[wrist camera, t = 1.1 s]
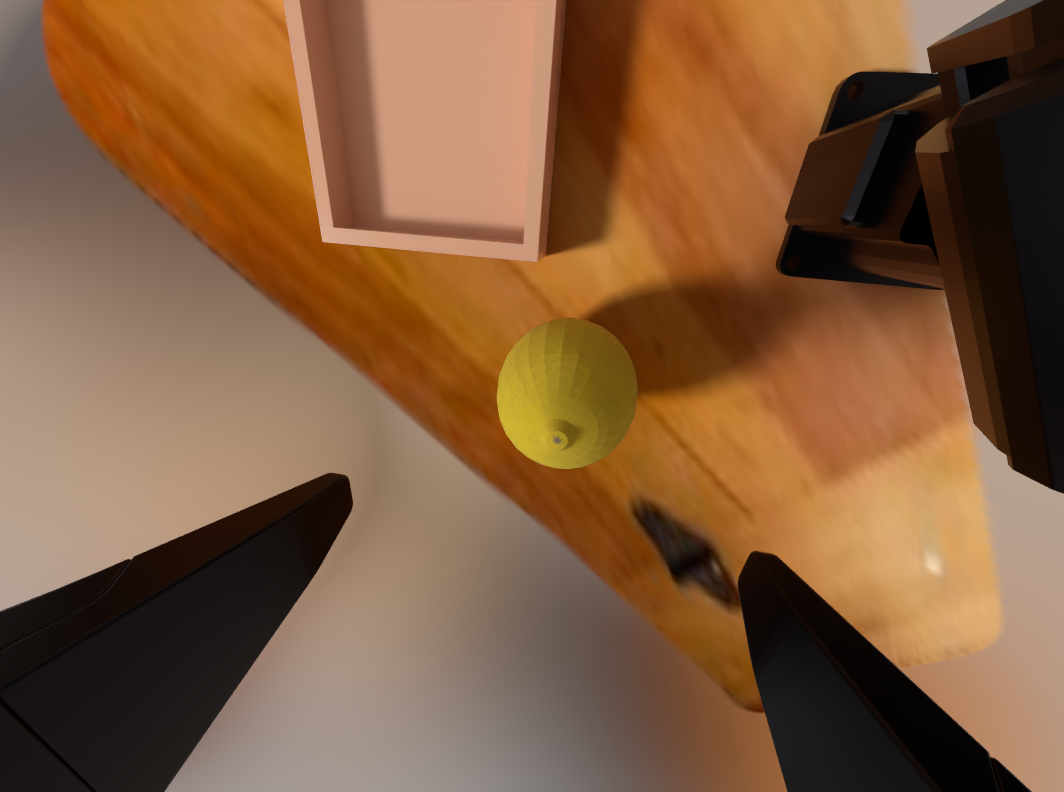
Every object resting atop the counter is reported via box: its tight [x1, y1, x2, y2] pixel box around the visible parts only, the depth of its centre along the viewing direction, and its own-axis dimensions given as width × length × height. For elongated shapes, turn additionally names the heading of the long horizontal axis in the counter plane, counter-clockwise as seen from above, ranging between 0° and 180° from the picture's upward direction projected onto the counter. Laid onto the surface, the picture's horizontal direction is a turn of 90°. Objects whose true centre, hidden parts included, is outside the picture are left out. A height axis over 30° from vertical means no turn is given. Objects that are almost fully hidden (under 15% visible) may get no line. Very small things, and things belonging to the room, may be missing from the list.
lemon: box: [497, 318, 638, 469], centre depth 15 cm, size 6×6×8 cm
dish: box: [283, 0, 567, 262], centre depth 14 cm, size 9×10×2 cm
